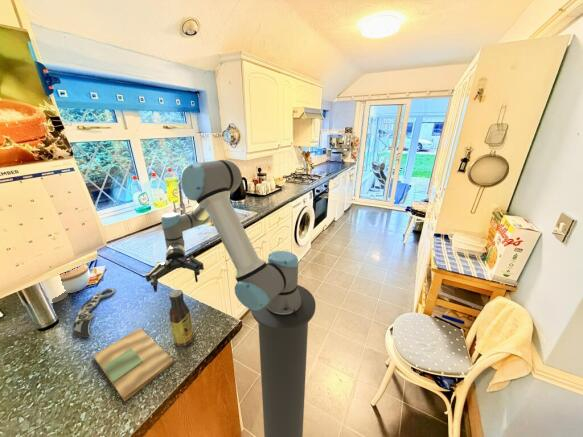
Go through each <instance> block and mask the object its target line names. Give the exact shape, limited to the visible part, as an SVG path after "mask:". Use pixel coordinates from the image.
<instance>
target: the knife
mask: <svg viewBox="0 0 583 437" xmlns="http://www.w3.org/2000/svg"><path fill="white" fill-rule="evenodd" d="M106 292H110V293H108V294H105V293H106ZM114 294H115V289H114V288H111V287H110V288H105V289H104V290H101V291H99V292H96V293H95V294H93V296H92V297H91V298H89V299H88V300H87V301H85V303H83V305H82V306H81V307H80V308H79V309H78V310H77V316H76V317H75V319H74V323H75V327H74V329H73V330H72V331H73V332H74V334H76V335H77V336H79V337H84V338H90V337H92V335H91V333H90V323H91V322H92V319H93V318H94V316H95V313H91V312H92V311H93V309H95V307H97V306H98V305H99V303H100V301H101V300H103V299H106V298H109V297H112V296H114Z"/></svg>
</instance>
